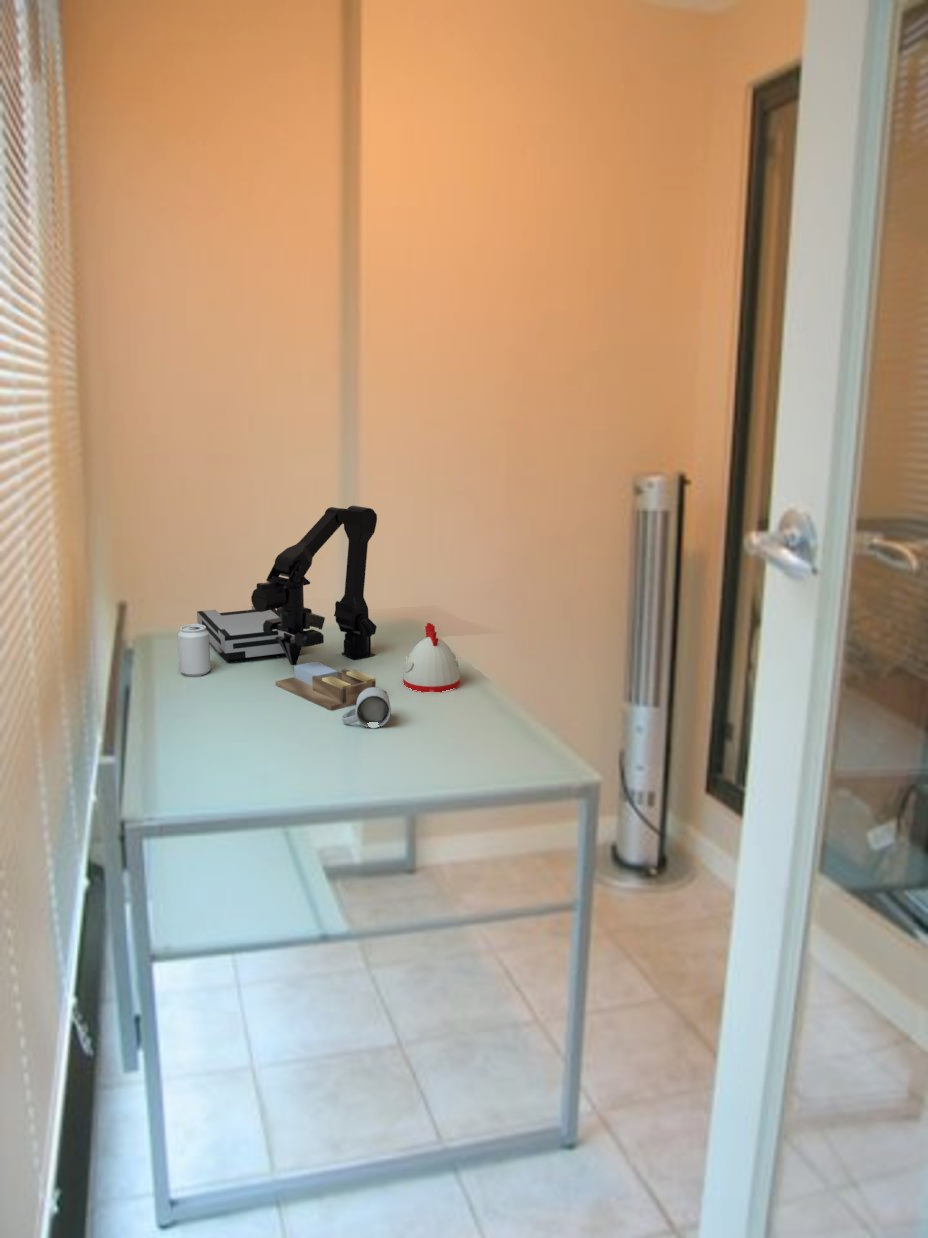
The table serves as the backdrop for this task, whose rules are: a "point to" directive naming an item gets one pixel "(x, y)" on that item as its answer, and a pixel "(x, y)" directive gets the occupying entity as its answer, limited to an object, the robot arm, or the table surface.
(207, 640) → the can
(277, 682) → the board
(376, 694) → the ceramic mug
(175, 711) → the table surface
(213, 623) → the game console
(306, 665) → the blue-grey rectangular block
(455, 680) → the kitchen timer
